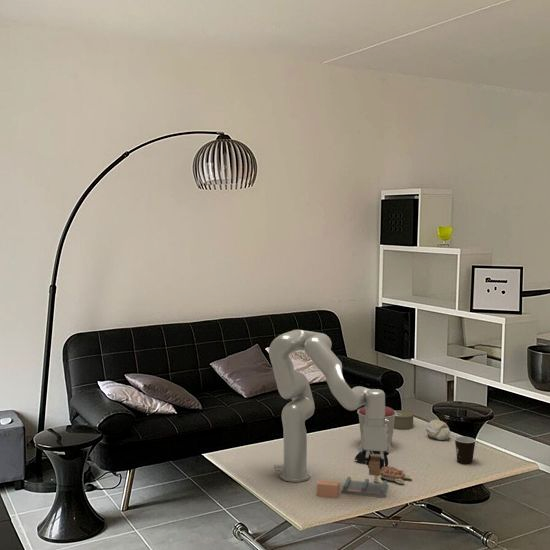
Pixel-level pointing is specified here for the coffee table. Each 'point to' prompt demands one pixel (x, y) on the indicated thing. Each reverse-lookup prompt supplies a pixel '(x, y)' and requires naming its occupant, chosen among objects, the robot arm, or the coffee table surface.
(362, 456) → the gun
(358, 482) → the slot rack
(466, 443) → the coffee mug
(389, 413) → the canister
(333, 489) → the terracotta bar
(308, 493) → the coffee table surface
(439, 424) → the fossil replica
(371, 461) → the walnut bar
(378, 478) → the decorative turtle
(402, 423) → the can
